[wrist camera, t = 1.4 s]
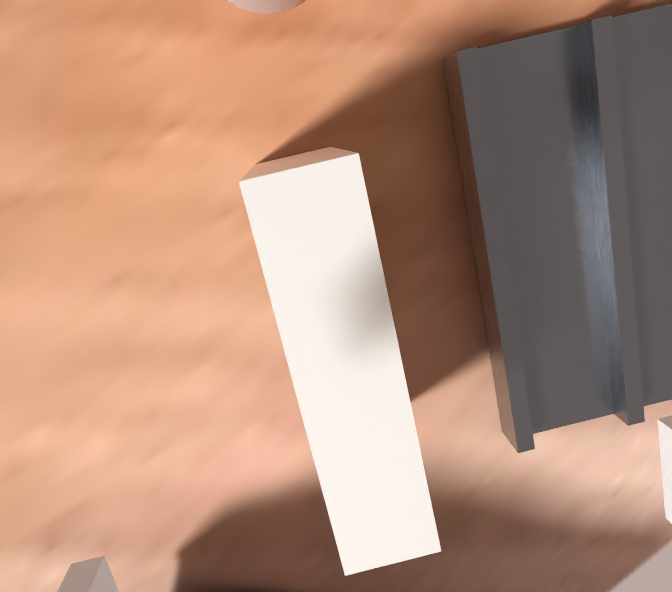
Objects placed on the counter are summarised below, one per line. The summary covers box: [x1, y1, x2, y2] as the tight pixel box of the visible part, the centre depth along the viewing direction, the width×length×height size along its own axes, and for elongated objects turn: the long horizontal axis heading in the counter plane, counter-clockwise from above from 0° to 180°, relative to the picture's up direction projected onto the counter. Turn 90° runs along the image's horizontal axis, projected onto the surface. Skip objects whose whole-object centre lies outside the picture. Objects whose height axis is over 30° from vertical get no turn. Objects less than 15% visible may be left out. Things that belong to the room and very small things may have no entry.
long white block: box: [239, 147, 441, 576], centre depth 27 cm, size 16×4×12 cm, turn 13°
